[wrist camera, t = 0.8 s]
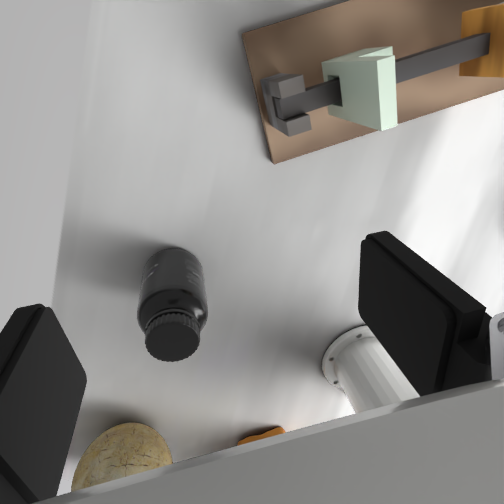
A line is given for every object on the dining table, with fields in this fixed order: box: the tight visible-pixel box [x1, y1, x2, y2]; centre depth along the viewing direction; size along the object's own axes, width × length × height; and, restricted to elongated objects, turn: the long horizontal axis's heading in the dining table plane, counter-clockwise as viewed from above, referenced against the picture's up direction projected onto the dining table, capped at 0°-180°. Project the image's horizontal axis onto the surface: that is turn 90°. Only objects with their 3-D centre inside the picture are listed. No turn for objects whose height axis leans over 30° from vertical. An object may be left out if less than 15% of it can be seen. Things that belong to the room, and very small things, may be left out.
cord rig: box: [242, 0, 504, 164], centre depth 31 cm, size 12×27×9 cm, turn 104°
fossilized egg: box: [71, 423, 173, 492], centre depth 46 cm, size 13×13×15 cm
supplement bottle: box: [137, 249, 208, 362], centre depth 36 cm, size 7×7×12 cm
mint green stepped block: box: [321, 46, 398, 131], centre depth 27 cm, size 4×4×9 cm
